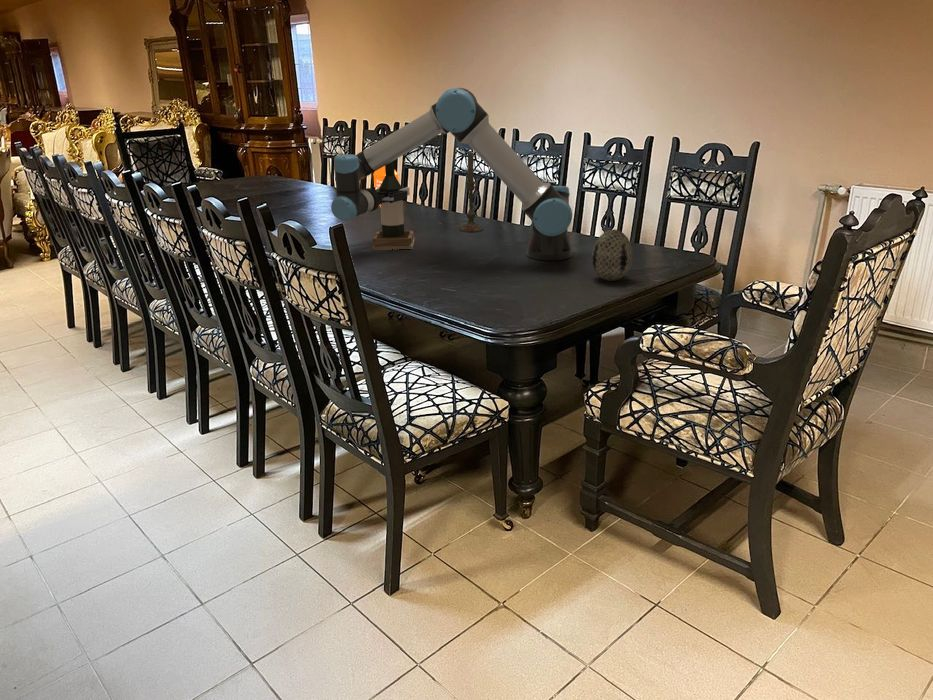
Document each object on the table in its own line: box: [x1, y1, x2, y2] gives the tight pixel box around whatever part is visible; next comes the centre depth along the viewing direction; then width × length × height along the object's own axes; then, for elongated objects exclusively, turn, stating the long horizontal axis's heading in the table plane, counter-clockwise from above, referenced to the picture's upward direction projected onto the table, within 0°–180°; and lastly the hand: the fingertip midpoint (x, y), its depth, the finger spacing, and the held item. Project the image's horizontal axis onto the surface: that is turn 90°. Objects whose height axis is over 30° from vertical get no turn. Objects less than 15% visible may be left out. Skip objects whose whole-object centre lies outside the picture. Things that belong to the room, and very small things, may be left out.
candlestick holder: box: [459, 151, 484, 233], centre depth 265 cm, size 9×9×30 cm
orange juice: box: [372, 166, 400, 208], centre depth 316 cm, size 8×9×20 cm
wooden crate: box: [371, 230, 416, 251], centre depth 248 cm, size 14×14×4 cm
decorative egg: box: [591, 229, 634, 282], centre depth 202 cm, size 12×12×15 cm
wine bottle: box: [379, 160, 405, 237], centre depth 242 cm, size 8×8×30 cm
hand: (397, 190), depth 246 cm, fingers closed on wine bottle, 8 cm apart
